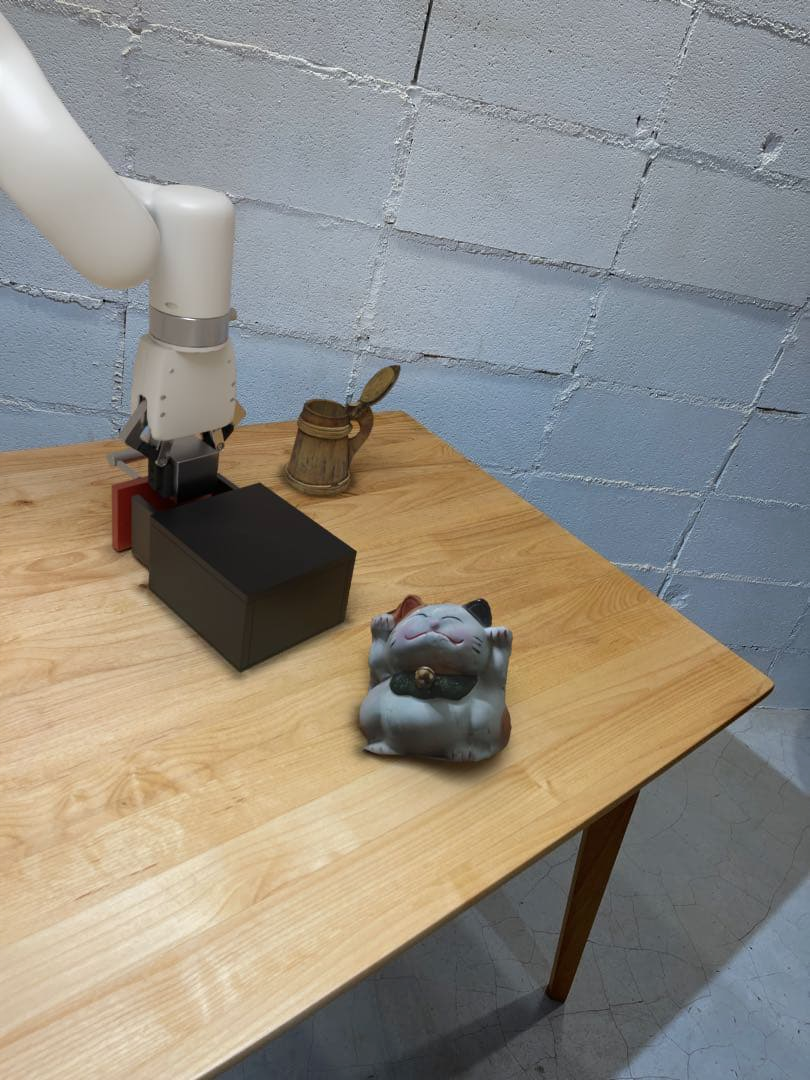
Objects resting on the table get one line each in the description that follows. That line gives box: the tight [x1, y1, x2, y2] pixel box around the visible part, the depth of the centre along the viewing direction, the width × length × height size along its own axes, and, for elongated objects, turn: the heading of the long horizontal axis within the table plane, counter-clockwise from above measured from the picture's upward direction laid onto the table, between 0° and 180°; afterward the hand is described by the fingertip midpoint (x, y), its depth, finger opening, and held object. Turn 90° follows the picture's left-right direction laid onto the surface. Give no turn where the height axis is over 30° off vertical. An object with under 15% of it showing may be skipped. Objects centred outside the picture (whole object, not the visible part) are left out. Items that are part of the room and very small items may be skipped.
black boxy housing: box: [148, 481, 358, 674], centre depth 84 cm, size 16×14×10 cm
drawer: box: [106, 447, 240, 569], centre depth 90 cm, size 20×13×8 cm, turn 47°
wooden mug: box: [283, 364, 402, 496], centre depth 109 cm, size 9×14×18 cm, turn 103°
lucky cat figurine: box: [358, 593, 514, 763], centre depth 75 cm, size 15×12×14 cm
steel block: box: [156, 434, 220, 504], centre depth 88 cm, size 5×5×5 cm
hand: (183, 484), depth 89 cm, fingers closed on steel block, 5 cm apart
